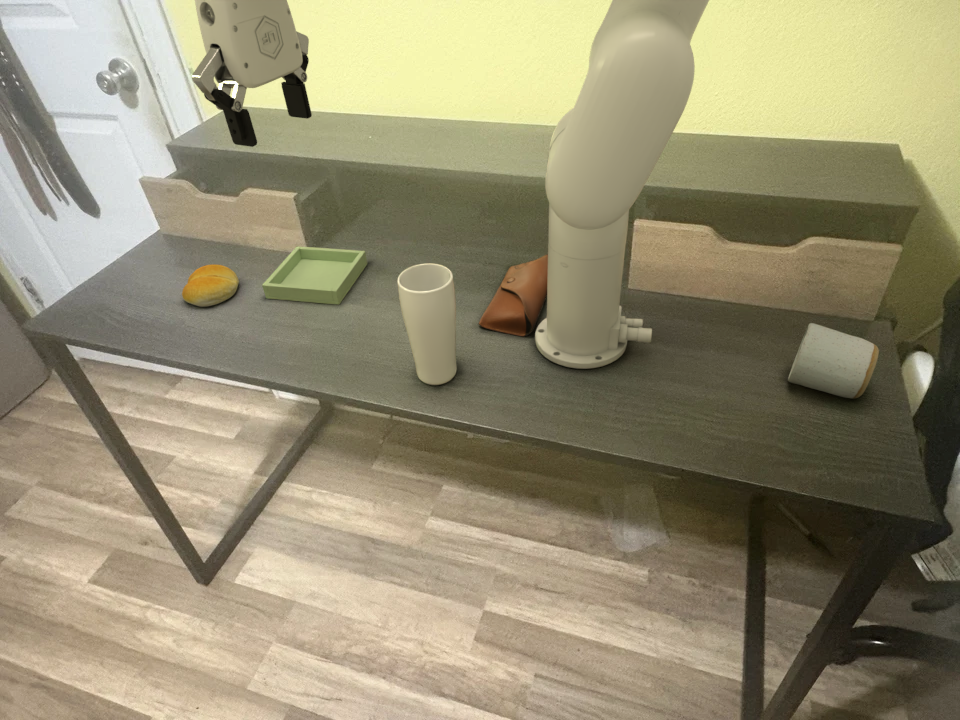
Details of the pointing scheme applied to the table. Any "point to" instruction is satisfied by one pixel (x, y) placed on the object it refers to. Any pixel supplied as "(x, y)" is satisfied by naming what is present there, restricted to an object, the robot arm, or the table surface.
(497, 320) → the sunglasses case
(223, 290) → the bread roll
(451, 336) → the drinking glass
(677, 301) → the table surface
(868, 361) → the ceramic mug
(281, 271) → the tray
